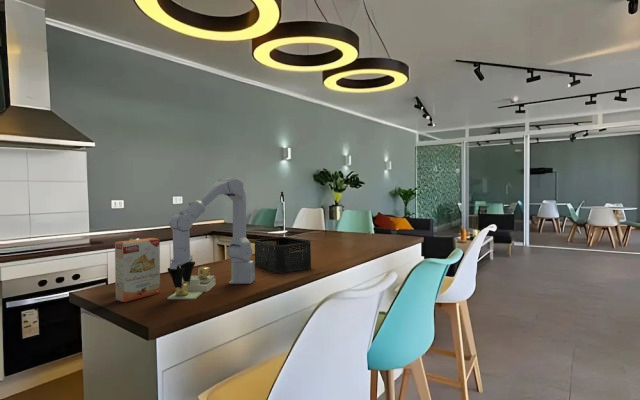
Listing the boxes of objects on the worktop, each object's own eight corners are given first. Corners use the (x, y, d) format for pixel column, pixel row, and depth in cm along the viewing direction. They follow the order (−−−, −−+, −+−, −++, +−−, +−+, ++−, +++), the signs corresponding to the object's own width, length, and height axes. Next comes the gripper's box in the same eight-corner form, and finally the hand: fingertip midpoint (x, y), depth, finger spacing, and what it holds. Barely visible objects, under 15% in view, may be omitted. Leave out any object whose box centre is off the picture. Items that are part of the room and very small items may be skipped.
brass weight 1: (190, 293, 131) (190, 282, 130) (185, 296, 126) (185, 285, 126) (179, 292, 131) (178, 282, 131) (173, 296, 126) (173, 285, 126)
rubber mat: (202, 293, 132) (202, 292, 132) (195, 299, 125) (194, 297, 125) (176, 293, 132) (176, 292, 132) (167, 299, 125) (167, 297, 125)
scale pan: (214, 278, 144) (214, 275, 143) (208, 283, 136) (208, 280, 136) (186, 278, 144) (186, 275, 144) (178, 283, 136) (178, 280, 136)
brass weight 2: (211, 276, 142) (211, 266, 142) (207, 279, 138) (207, 269, 137) (200, 276, 142) (200, 266, 142) (196, 279, 138) (196, 269, 138)
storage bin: (252, 264, 183) (252, 238, 183) (284, 259, 195) (284, 235, 194) (279, 275, 160) (278, 245, 160) (314, 269, 171) (313, 241, 171)
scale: (215, 284, 144) (215, 273, 144) (206, 291, 134) (206, 279, 134) (186, 284, 144) (186, 273, 144) (175, 291, 134) (175, 279, 134)
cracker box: (124, 303, 121) (122, 243, 120) (115, 300, 124) (113, 241, 124) (161, 293, 133) (160, 238, 132) (152, 290, 136) (150, 237, 136)
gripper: (179, 244, 135) (180, 279, 136) (161, 251, 121) (162, 290, 121) (197, 244, 135) (198, 279, 136) (181, 250, 121) (182, 289, 121)
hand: (182, 284), depth 128 cm, fingers open, 7 cm apart
